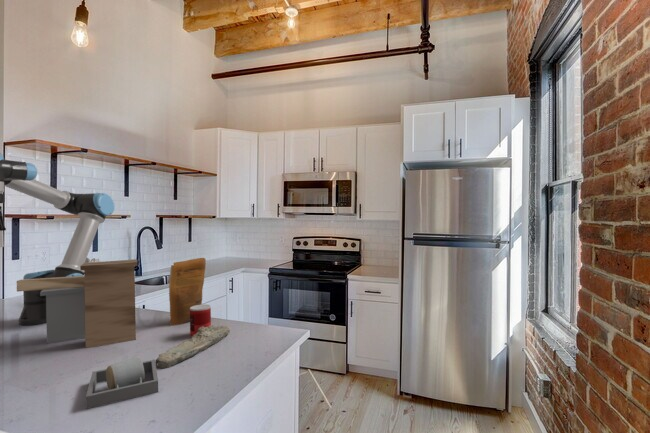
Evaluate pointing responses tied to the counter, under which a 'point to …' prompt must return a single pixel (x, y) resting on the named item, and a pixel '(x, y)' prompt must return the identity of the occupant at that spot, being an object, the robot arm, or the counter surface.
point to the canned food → (199, 317)
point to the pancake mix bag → (185, 288)
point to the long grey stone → (192, 345)
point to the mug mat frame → (121, 392)
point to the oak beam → (50, 283)
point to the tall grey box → (65, 314)
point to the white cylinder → (125, 373)
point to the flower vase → (91, 260)
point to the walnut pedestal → (109, 302)
